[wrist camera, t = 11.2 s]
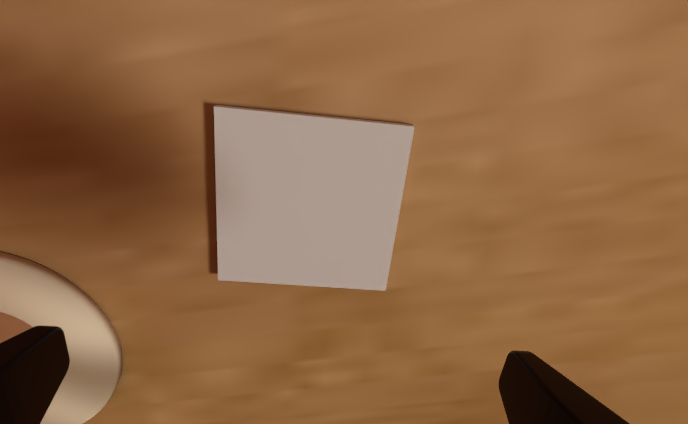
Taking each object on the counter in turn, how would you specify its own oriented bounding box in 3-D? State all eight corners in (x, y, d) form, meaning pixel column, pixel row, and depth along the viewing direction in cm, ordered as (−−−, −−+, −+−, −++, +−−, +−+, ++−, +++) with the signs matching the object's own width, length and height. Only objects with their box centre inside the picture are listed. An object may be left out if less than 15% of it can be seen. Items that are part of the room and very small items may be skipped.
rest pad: (384, 285, 17) (385, 290, 17) (220, 274, 16) (218, 280, 16) (412, 124, 14) (414, 126, 14) (216, 104, 14) (213, 106, 13)
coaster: (133, 428, 20) (127, 439, 19) (-81, 421, 19) (-93, 433, 18) (107, 257, 16) (99, 264, 15) (-164, 238, 15) (-183, 246, 14)
